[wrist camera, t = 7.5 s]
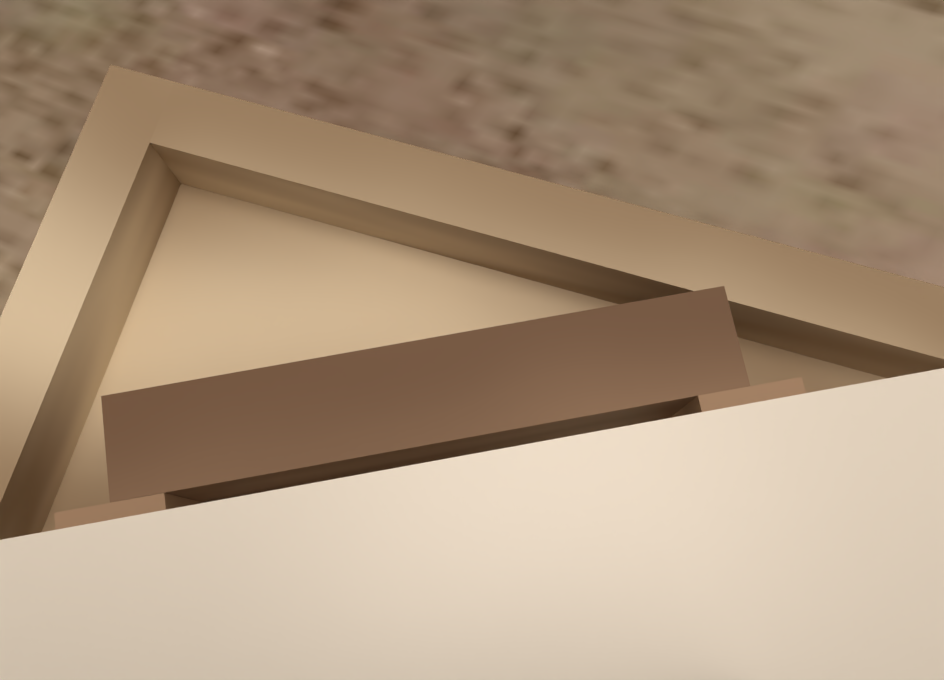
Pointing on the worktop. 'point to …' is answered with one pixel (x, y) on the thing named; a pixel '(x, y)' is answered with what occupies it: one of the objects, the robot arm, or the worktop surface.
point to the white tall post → (531, 561)
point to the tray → (377, 312)
